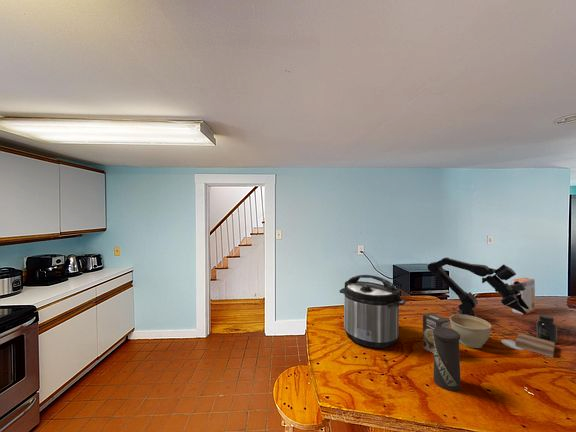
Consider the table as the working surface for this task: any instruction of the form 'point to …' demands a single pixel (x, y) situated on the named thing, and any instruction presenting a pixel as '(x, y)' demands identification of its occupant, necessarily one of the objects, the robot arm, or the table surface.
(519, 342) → the light brown block
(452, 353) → the container
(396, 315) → the pressure cooker
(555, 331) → the supplement bottle
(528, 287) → the cracker box
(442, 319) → the coffee box
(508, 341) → the grey coaster
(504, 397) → the table surface
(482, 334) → the planter bowl
